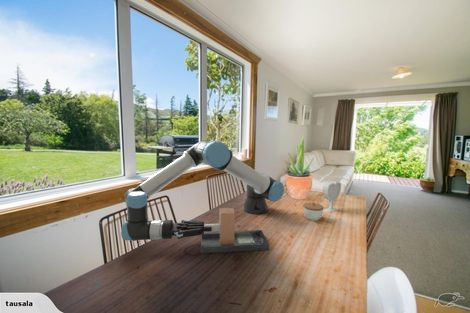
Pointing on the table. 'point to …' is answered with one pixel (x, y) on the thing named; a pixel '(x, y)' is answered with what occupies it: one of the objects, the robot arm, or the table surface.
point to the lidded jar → (313, 211)
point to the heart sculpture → (331, 194)
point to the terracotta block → (227, 225)
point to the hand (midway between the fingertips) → (219, 227)
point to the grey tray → (241, 242)
